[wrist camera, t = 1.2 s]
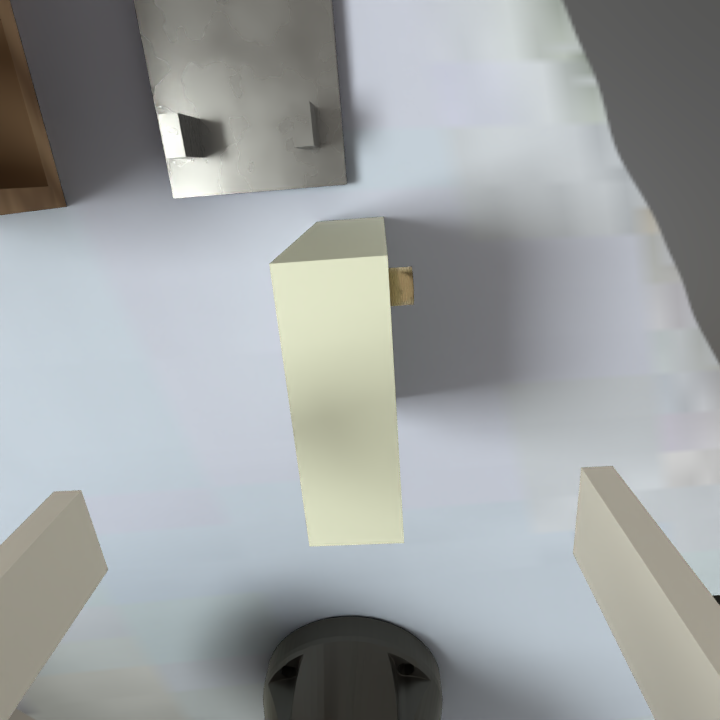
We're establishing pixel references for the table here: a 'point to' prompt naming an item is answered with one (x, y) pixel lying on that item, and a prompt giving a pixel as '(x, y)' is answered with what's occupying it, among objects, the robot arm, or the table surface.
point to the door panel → (343, 377)
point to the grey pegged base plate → (245, 93)
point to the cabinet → (22, 131)
